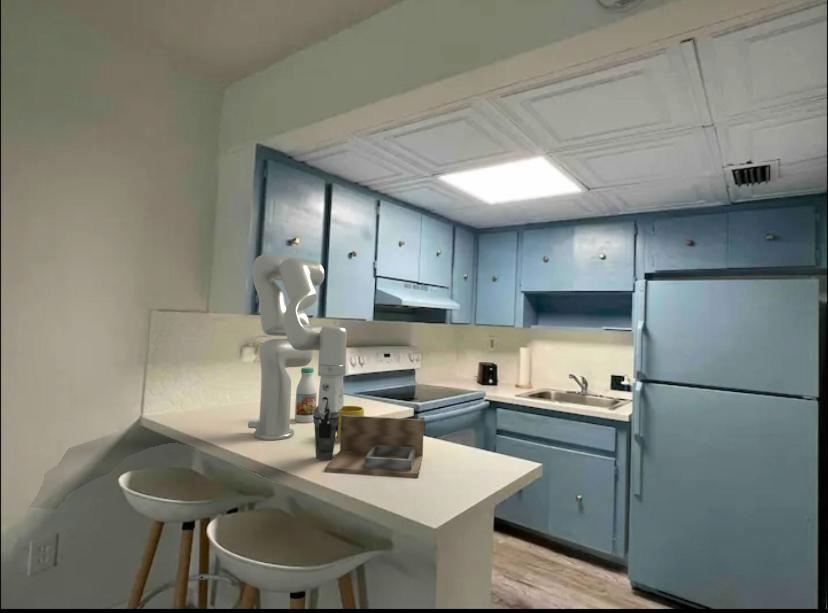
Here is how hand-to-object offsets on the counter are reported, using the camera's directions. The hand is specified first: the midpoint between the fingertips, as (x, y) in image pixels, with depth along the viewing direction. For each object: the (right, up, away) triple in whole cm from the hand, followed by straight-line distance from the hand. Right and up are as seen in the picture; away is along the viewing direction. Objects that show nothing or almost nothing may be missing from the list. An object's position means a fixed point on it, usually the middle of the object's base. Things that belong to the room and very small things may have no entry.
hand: (328, 433), depth 124 cm
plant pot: (+2, -8, +21) cm, 23 cm away
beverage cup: (-1, -7, 0) cm, 7 cm away
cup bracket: (+14, -7, -4) cm, 16 cm away
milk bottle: (-17, -8, +43) cm, 47 cm away
